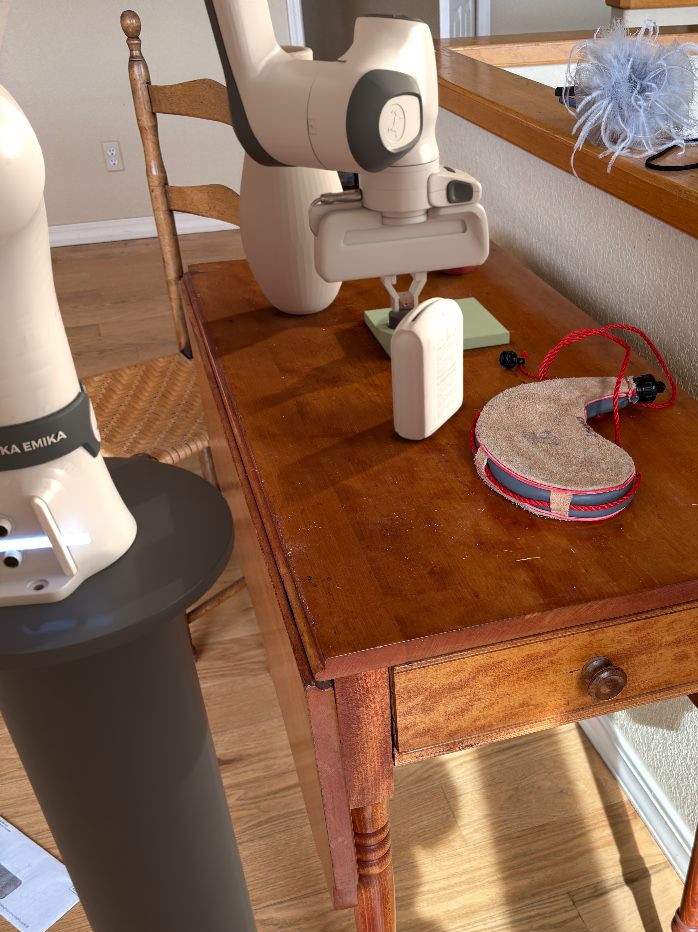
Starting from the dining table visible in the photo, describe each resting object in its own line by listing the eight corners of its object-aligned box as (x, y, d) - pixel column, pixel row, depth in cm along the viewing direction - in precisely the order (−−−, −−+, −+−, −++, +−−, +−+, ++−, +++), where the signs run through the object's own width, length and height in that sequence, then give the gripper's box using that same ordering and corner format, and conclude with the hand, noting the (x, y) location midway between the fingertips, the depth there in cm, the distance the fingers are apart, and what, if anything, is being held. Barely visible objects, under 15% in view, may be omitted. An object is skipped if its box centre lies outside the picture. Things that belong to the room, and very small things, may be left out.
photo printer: (432, 397, 102) (430, 284, 95) (468, 404, 101) (468, 290, 93) (388, 437, 95) (382, 318, 87) (426, 445, 93) (423, 325, 86)
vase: (363, 291, 129) (347, 41, 111) (344, 328, 118) (323, 58, 100) (266, 289, 130) (234, 41, 112) (239, 325, 119) (199, 57, 101)
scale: (386, 361, 110) (385, 337, 108) (358, 322, 120) (357, 299, 118) (510, 344, 114) (510, 320, 112) (473, 307, 124) (473, 285, 122)
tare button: (393, 334, 110) (393, 319, 109) (385, 323, 113) (384, 309, 112) (422, 330, 111) (422, 316, 110) (414, 320, 113) (413, 305, 112)
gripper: (312, 202, 97) (324, 330, 105) (495, 184, 102) (493, 307, 110) (300, 187, 102) (313, 311, 110) (475, 171, 107) (475, 290, 115)
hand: (404, 309), depth 110 cm, fingers closed
